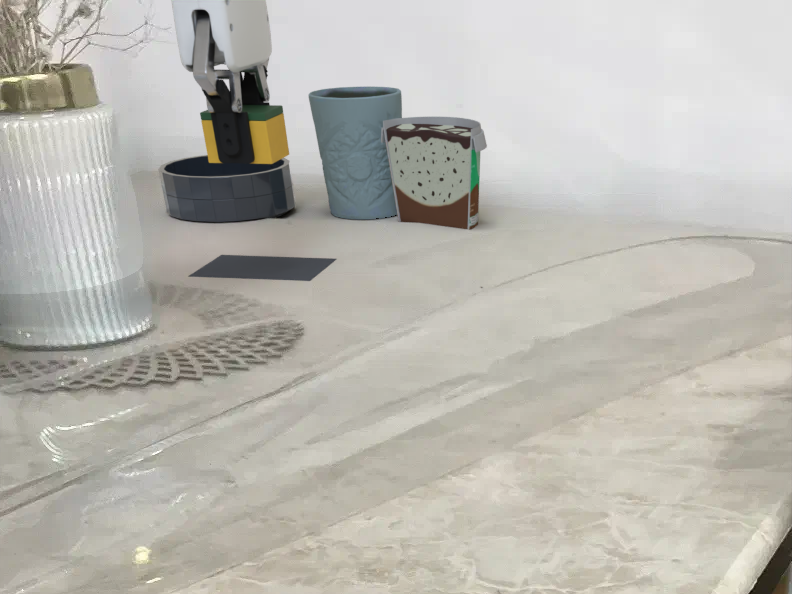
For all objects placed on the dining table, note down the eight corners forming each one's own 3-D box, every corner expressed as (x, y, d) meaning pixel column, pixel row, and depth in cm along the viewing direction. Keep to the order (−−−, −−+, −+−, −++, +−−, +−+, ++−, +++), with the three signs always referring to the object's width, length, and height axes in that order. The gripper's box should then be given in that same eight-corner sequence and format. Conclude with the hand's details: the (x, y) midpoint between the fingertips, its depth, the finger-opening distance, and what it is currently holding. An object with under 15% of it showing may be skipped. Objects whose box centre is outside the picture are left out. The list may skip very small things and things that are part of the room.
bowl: (147, 225, 125) (136, 175, 122) (199, 198, 136) (191, 152, 133) (269, 229, 123) (262, 178, 120) (312, 201, 134) (306, 154, 131)
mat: (188, 281, 107) (187, 276, 106) (222, 259, 113) (221, 254, 113) (310, 286, 105) (310, 280, 105) (337, 263, 112) (337, 258, 111)
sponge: (208, 163, 102) (199, 112, 100) (228, 153, 105) (219, 104, 103) (272, 164, 101) (264, 113, 99) (289, 154, 105) (282, 105, 102)
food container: (512, 224, 124) (508, 121, 118) (480, 236, 120) (475, 129, 114) (421, 212, 129) (413, 112, 123) (388, 222, 125) (378, 120, 119)
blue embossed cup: (362, 225, 124) (349, 100, 117) (304, 212, 130) (288, 92, 122) (429, 209, 131) (420, 89, 123) (370, 197, 136) (359, 82, 129)
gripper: (205, -94, 99) (244, 140, 110) (116, -90, 86) (170, 175, 97) (287, -95, 98) (318, 141, 109) (209, -91, 85) (253, 176, 96)
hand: (248, 154), depth 103 cm, fingers closed on sponge, 4 cm apart
